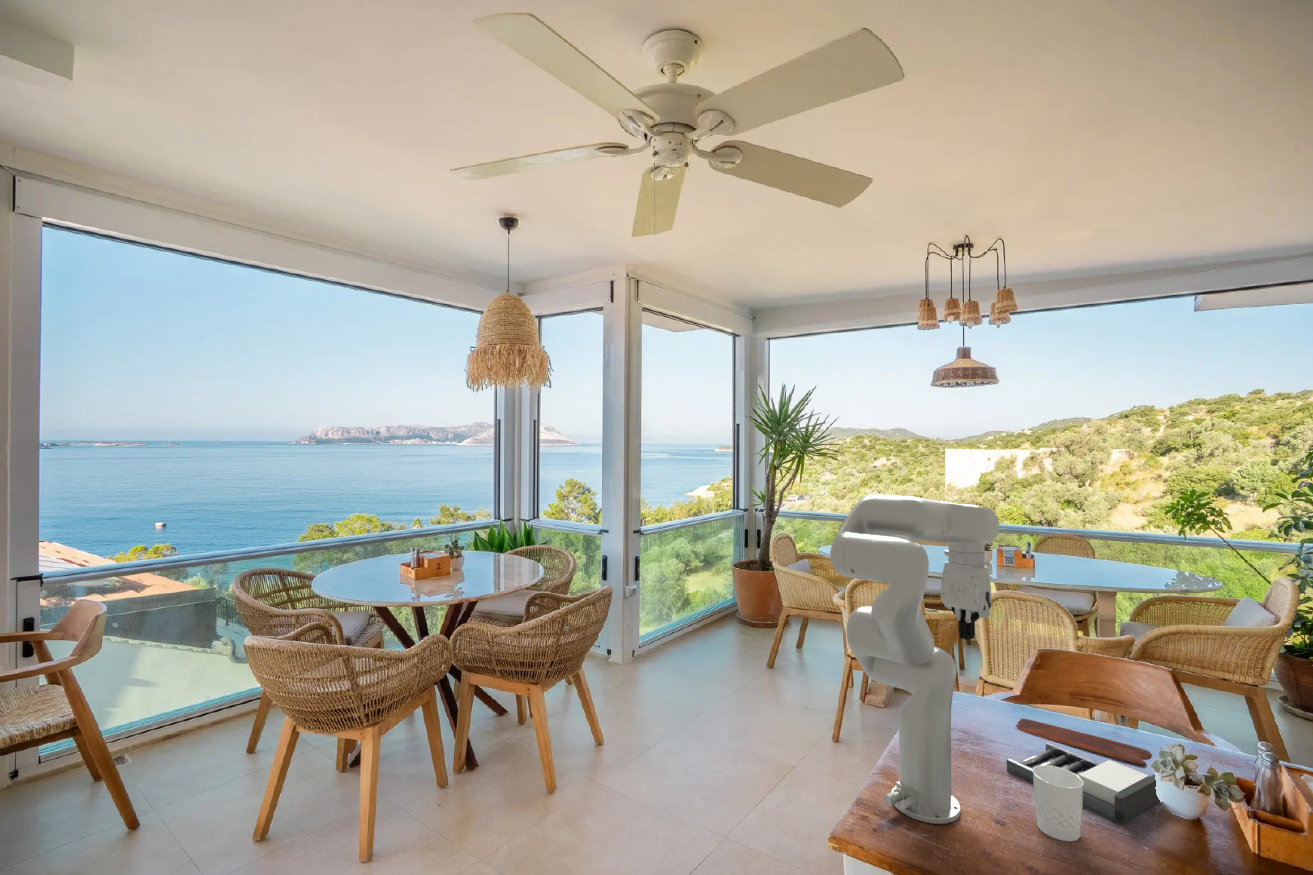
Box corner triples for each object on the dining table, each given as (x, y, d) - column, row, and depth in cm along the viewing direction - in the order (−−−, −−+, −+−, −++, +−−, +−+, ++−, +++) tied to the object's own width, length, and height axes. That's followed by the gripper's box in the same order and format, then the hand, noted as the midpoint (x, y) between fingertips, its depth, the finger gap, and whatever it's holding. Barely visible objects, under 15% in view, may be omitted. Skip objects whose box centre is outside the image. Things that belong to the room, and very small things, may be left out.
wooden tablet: (1152, 755, 141) (1152, 748, 141) (1146, 771, 134) (1146, 764, 134) (1022, 718, 160) (1022, 712, 160) (1011, 731, 153) (1011, 724, 153)
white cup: (1024, 816, 117) (1023, 764, 117) (1066, 817, 117) (1065, 765, 117) (1049, 843, 109) (1049, 787, 109) (1094, 844, 109) (1093, 788, 109)
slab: (1118, 807, 117) (1118, 791, 117) (1078, 789, 123) (1078, 774, 123) (1148, 790, 122) (1148, 775, 122) (1109, 773, 128) (1109, 759, 128)
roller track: (1122, 825, 114) (1121, 798, 114) (1006, 770, 134) (1006, 747, 134) (1162, 801, 122) (1162, 776, 122) (1048, 752, 141) (1047, 731, 141)
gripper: (927, 554, 145) (927, 631, 145) (987, 565, 132) (987, 650, 132) (947, 551, 149) (948, 627, 148) (1008, 562, 135) (1008, 645, 135)
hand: (966, 638), depth 140 cm, fingers closed
